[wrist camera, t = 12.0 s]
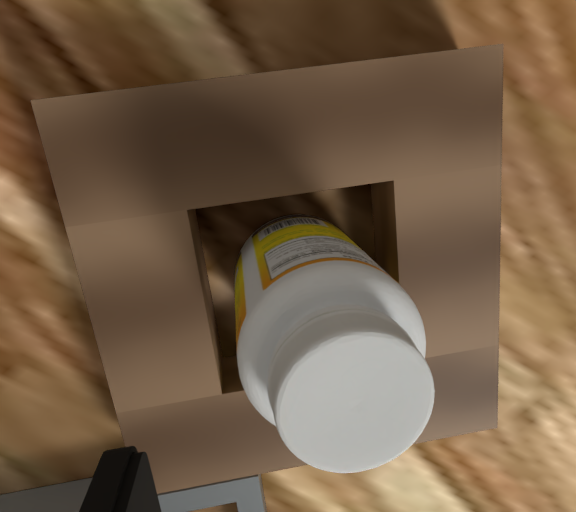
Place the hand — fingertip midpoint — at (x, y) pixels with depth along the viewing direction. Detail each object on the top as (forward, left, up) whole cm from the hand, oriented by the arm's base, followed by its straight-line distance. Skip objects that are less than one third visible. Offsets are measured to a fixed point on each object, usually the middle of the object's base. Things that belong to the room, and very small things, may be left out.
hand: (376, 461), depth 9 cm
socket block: (+1, 0, -12) cm, 12 cm away
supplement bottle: (0, 0, -12) cm, 12 cm away
